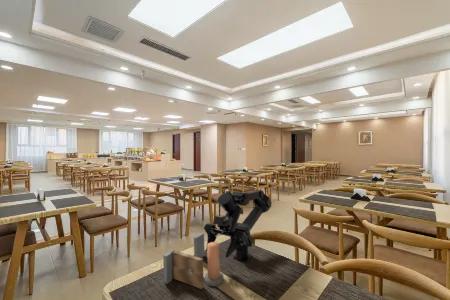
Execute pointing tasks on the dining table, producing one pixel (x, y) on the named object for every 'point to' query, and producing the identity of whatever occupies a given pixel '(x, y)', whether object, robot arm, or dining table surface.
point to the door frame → (197, 253)
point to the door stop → (213, 265)
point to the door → (187, 269)
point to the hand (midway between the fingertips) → (216, 254)
